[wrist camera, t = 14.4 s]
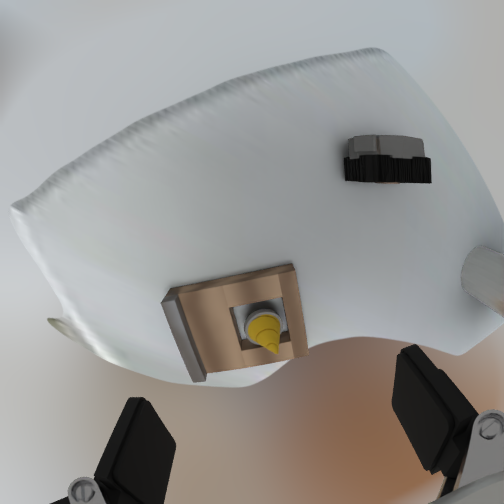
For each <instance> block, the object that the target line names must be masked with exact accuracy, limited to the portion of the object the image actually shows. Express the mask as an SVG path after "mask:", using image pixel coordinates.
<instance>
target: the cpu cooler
mask: <svg viewBox="0 0 504 504" xmlns="http://www.w3.org/2000/svg"><path fill="white" fill-rule="evenodd" d="M348 141H349V157H347V158H344V166H345V181H357V182H376V183H383V184H400V183H432V182H431V159H430V158H428V157H425V154H424V145H423V141H422V139H419V138H413V137H408V136H395V135H365V136H355V137H354V138H350V139H348Z"/></svg>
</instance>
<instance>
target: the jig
mask: <svg viewBox="0 0 504 504" xmlns="http://www.w3.org/2000/svg"><path fill="white" fill-rule="evenodd" d="M279 297H282V300H283V305H284V310H285V315H286V321H287V326H288V331H286V332H281V334H280V339H279V353H278V354H275V353H273V352H272V351H270V350H268V349H267V348H265V347H263V346H261V345H257V344H254V343H252V342H250V341H249V340H248V339H245V340H242V339H241V336H240V333H239V329H238V326H237V322H236V318H235V315H234V311H233V308H232V307H235V306H240V305H245V304H250V303H255V302H260V301H265V300H270V299H274V298H279ZM161 305H162V307H163V310H164V313H165V316H166V318H167V321H168V324H169V326H170V329H171V331H172V334H173V336H174V339H175V341H176V344H177V346H178V349H179V351H180V354H181V356H182V358H183V361H184V363H185V365H186V368H187V370H188V372H189V374H190V377H191V379H192V381H193V383H194V382H204V381H206V376H207V373H213V372H221V371H228V370H234V369H241V368H247V367H253V366H259V365H264V364H270V363H275V362H280V361H285V360H289V359H294V358H299V357H303V356H307V355H309V352H308V345H307V338H306V332H305V325H304V319H303V313H302V307H301V301H300V295H299V289H298V283H297V278H296V272H295V269H294V267H293V265H292V264H287V265H283V266H278V267H273V268H269V269H264V270H259V271H255V272H250V273H245V274H240V275H235V276H231V277H226V278H221V279H216V280H211V281H206V282H201V283H196V284H191V285H186V286H181V287H176V288H171V289H170V290H169V291H168V293H167V294H166V296H165V297H164V299H163V300H162V302H161Z"/></svg>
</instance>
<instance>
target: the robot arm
mask: <svg viewBox="0 0 504 504" xmlns="http://www.w3.org/2000/svg"><path fill="white" fill-rule="evenodd" d="M461 284H462V287H463V289H464V290H465V291H466V292H467V293H468V294H470V295H472V296H473V297H475V298H476V299H478V300H479V301H481V302H482V303H484V304H485V305H486V306H488V307H489V308H491V309H492V310H494V311H495V312H497V313H498V314H499V315H501V316H502V317H504V254H501V253H498V252H496V251H494V250H491V249H489V248H486V247H484V246H478V247H476V248H474V249H473V250H472V251H471V252H470V253H469V255H468V256H467V258H466V260H465V262H464V265H463V268H462V272H461ZM392 407H393V410H394V412H395V413H396V415H397V417H398V419H399V421H400V423H401V425H402V427H403V428H404V430H405V432H406V434H407V436H408V438H409V440H410V442H411V444H412V446H413V448H414V450H415V452H416V454H417V456H418V457H419V459H420V462H421V464H422V466H423V468H424V469H425V470H426V471H427V470H430V472H431V474H432V475H433V474H434V473H436V472H438V471H440V470H441V472H442V474H443V475H444V476H445V477H444V480H443V484H442V486H441V489H440V491H439V494H438V496H437V499H436V500H435V501H433V502H431V503H428V504H504V413H503V412H501V411H498V410H487V411H485V412H482V413H481V414H480V415H479V414H478V413H477V411H476V410H475V409H474V408H473V406H472V405H471V404H470V403H469V401H468V400H467V399H466V397H465V396H464V395H463V394H462V393H461V392H460V390H459V389H458V388H457V386H456V385H455V384H454V383H453V382H452V380H451V379H450V378H449V377H448V376H447V374H446V373H445V372H444V371H443V370H441V369H438V368H437V367H436V366H435V365H434V364H433V363H432V361H431V360H430V359H429V358H428V357H427V356H426V354H425V353H424V352H423V351H422V350H421V349H420V348H419V346H418V345H416V344H414V345H411V346H408V347H406V348H403V349H401V352H400V354H398V355H397V362H396V372H395V380H394V388H393V396H392ZM175 450H176V443H175V441H174V439H173V437H172V436H171V434H170V433H169V432H168V430H167V428H166V427H165V425H164V424H163V422H162V421H161V419H160V418H159V416H158V414H157V413H156V411H155V410H154V408H153V406H152V405H151V403H150V402H149V401H147V400H146V399H145V398H143V397H130V398H129V399H128V400H127V402H126V404H125V407H124V409H123V411H122V413H121V415H120V417H119V420H118V421H117V424H116V426H115V428H114V430H113V433H112V435H111V437H110V439H109V441H108V444H107V446H106V448H105V450H104V453H103V455H102V457H101V459H100V462H99V464H98V466H97V469H96V471H95V474H94V476H95V477H94V479H92V478H89V477H80V478H77V479H76V480H74V481H73V482H72V483H71V484H70V486H69V488H68V496H67V497H65V498H63V499H60V500H58V501H56V502H53V503H51V504H164V500H165V495H166V491H167V485H168V481H169V477H170V472H171V468H172V463H173V459H174V454H175Z"/></svg>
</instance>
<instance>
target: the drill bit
mask: <svg viewBox="0 0 504 504" xmlns="http://www.w3.org/2000/svg"><path fill="white" fill-rule="evenodd" d="M282 329H283V323H282V320H281V318H280V317H279V315H278V314H277V313H276V312H275V311H273V310H271V309H260V310H257V311H255V312H253V313H252V314H250V315H249V316H248V318H247V319H246V321H245V323H244V331H245V334H246V337H247V338H248V340H249V341H250V342H252V343H254V344H257V345H261V346H263V347H265V348H267V349H268V350H270V351H272V352H273V353H275V354H278V353H279V339H280V334H281V332H282Z"/></svg>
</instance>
